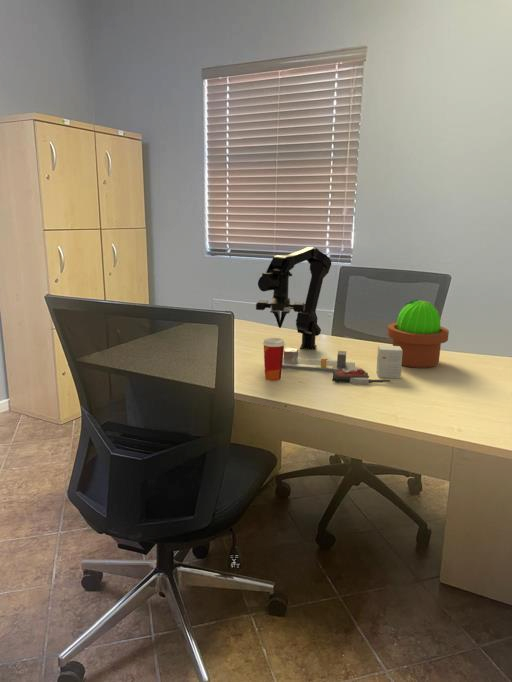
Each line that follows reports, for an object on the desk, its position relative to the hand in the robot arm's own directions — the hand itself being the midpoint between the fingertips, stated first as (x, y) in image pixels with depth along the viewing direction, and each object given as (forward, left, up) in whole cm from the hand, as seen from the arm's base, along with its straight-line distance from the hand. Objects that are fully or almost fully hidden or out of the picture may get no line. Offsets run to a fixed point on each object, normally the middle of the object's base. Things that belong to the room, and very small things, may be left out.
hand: (280, 327), depth 207 cm
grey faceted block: (+11, +6, -10) cm, 17 cm away
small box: (+14, +42, -12) cm, 46 cm away
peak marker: (+14, +19, -10) cm, 25 cm away
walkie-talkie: (+22, +32, -13) cm, 41 cm away
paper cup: (+27, +2, -12) cm, 30 cm away
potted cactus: (-6, +53, -12) cm, 55 cm away
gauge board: (+10, +15, -12) cm, 22 cm away
